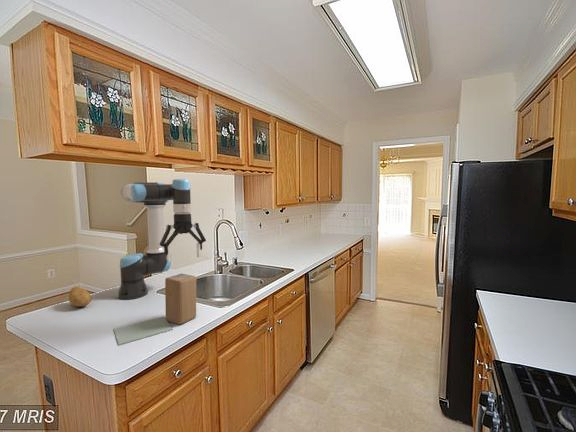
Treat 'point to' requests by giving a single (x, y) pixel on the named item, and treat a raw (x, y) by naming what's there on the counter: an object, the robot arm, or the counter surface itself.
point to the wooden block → (180, 298)
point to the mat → (141, 330)
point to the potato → (79, 297)
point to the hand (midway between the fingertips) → (184, 259)
